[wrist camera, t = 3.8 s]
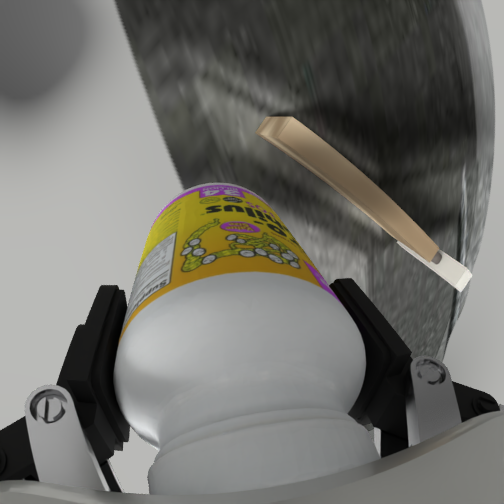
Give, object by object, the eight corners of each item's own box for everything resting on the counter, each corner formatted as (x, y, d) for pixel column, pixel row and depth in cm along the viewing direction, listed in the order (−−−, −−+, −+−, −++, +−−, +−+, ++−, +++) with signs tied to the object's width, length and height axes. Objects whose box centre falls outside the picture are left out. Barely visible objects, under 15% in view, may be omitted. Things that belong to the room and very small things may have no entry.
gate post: (406, 228, 28) (467, 268, 20) (413, 235, 29) (472, 275, 21) (396, 242, 29) (455, 286, 21) (404, 249, 29) (460, 292, 21)
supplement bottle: (304, 230, 16) (466, 441, 5) (226, 316, 18) (279, 542, 6) (202, 150, 13) (265, 403, 2) (125, 256, 15) (64, 520, 3)
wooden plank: (265, 116, 21) (292, 116, 16) (405, 228, 28) (445, 254, 22) (254, 132, 22) (278, 137, 16) (396, 240, 28) (435, 268, 23)
